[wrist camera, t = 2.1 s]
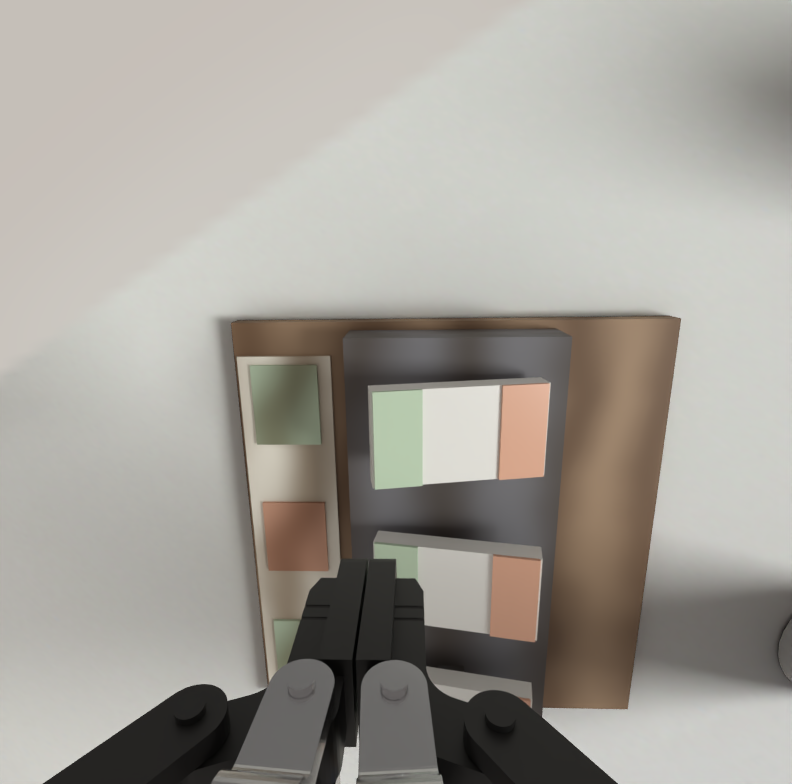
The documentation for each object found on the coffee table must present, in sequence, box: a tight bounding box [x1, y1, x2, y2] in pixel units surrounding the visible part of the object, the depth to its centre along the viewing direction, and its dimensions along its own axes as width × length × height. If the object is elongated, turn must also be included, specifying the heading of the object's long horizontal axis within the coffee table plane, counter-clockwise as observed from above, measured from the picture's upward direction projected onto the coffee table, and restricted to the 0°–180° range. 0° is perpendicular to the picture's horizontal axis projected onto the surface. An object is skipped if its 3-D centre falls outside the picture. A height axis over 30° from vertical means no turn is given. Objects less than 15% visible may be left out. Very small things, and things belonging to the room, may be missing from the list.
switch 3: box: [426, 666, 532, 708], centre depth 30 cm, size 9×5×1 cm, turn 91°
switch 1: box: [368, 377, 551, 490], centre depth 25 cm, size 9×5×1 cm, turn 91°
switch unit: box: [231, 316, 681, 717], centre depth 31 cm, size 26×28×5 cm
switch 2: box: [373, 530, 543, 642], centre depth 28 cm, size 9×5×1 cm, turn 91°
